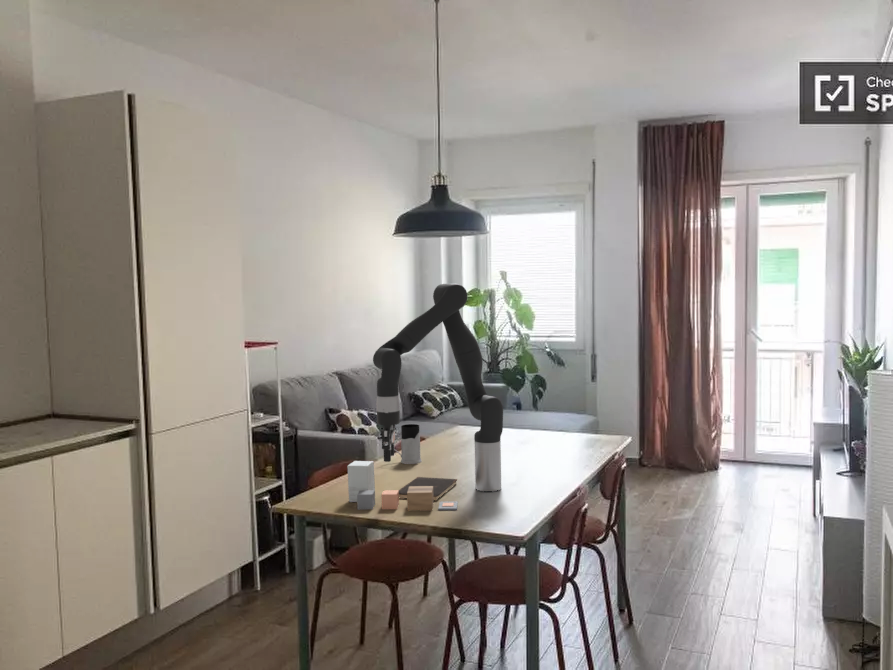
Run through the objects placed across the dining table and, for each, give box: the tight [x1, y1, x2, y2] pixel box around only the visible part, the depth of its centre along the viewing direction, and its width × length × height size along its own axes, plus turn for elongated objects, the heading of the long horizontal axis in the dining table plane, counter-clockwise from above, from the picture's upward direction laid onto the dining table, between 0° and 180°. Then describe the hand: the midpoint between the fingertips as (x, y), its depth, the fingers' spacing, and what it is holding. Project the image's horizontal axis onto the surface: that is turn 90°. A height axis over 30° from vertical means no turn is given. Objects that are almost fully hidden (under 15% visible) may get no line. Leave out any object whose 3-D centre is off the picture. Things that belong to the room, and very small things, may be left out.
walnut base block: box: [406, 486, 435, 511], centre depth 249 cm, size 8×8×6 cm
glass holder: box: [394, 423, 423, 465], centre depth 315 cm, size 9×14×15 cm, turn 88°
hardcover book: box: [398, 476, 458, 501], centre depth 269 cm, size 16×23×2 cm
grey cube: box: [356, 489, 376, 510], centre depth 250 cm, size 5×5×5 cm
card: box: [437, 500, 459, 511], centre depth 248 cm, size 8×6×1 cm
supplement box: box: [347, 460, 376, 503], centre depth 259 cm, size 7×7×13 cm
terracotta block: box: [381, 489, 400, 510], centre depth 249 cm, size 5×5×5 cm
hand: (389, 458), depth 248 cm, fingers open, 8 cm apart
